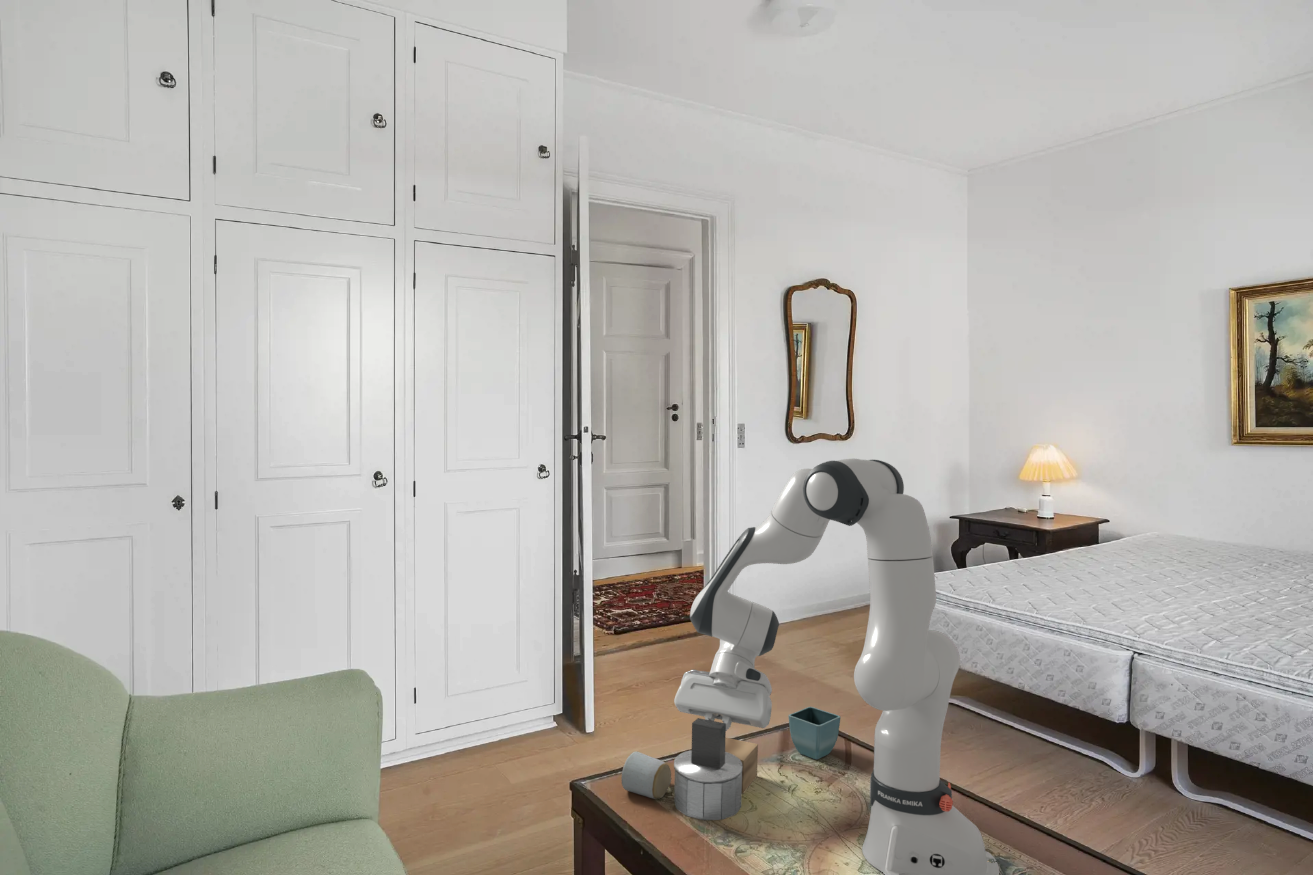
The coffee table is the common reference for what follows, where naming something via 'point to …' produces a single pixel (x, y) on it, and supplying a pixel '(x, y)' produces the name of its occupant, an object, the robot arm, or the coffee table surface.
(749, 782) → the tan block
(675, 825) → the coffee table surface
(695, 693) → the robot arm
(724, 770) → the lid
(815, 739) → the flower pot
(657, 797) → the ceramic mug
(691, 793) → the pot
